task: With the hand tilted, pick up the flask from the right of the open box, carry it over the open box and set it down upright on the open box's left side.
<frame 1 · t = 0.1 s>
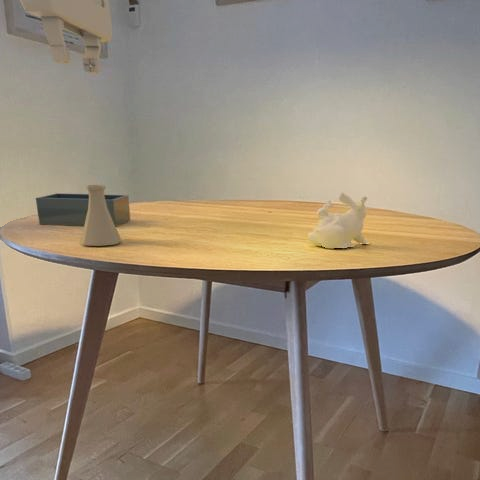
hand: (77, 67, 64), 27 cm above the table, tool pointing down, fingers open, 8 cm apart
rabbit figurine: (341, 248, 83), on the table
open box: (86, 222, 104), on the table
flask: (101, 244, 84), on the table
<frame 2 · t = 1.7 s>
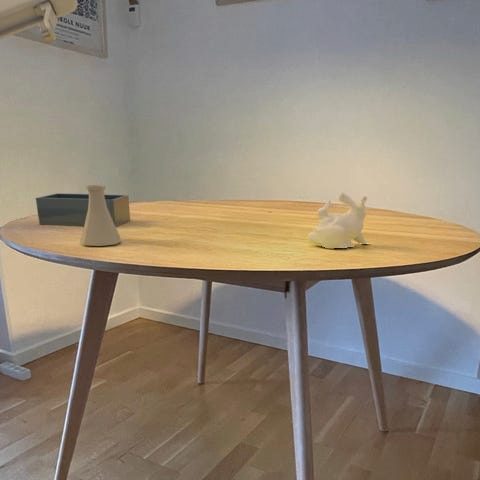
hand: (16, 49, 63), 29 cm above the table, tool tilted 45°, fingers open, 8 cm apart
nothing on the table moved.
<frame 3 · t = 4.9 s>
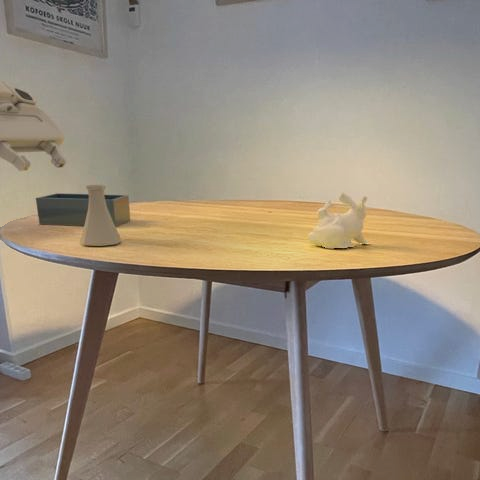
hand: (45, 166, 81), 13 cm above the table, tool tilted 45°, fingers open, 8 cm apart
nothing on the table moved.
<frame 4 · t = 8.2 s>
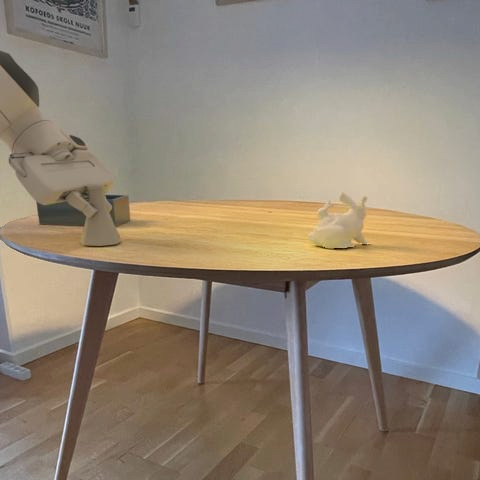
hand: (101, 213, 82), 5 cm above the table, tool tilted 45°, fingers closed on flask, 3 cm apart
flask: (101, 244, 84), on the table, touching gripper
everything else where it was.
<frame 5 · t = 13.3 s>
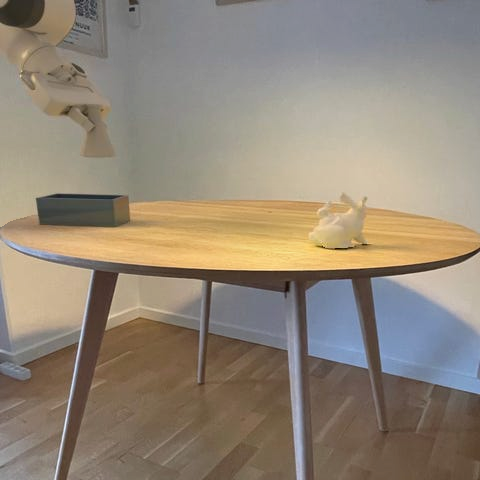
hand: (98, 129, 95), 19 cm above the table, tool tilted 45°, fingers closed on flask, 3 cm apart
flask: (98, 158, 97), point 14 cm above the table, touching gripper
everything else where it was.
when the fingers open (5 cm above the table, at t = 18.9 s): flask stays where it is, on the table.
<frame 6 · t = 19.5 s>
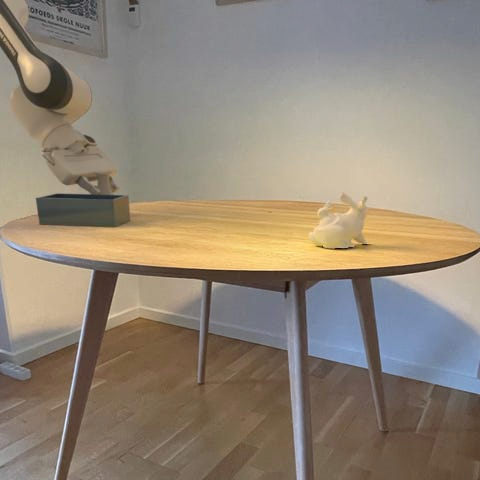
hand: (107, 192, 111), 6 cm above the table, tool tilted 45°, fingers open, 7 cm apart
flask: (106, 216, 113), on the table
everything else where it was.
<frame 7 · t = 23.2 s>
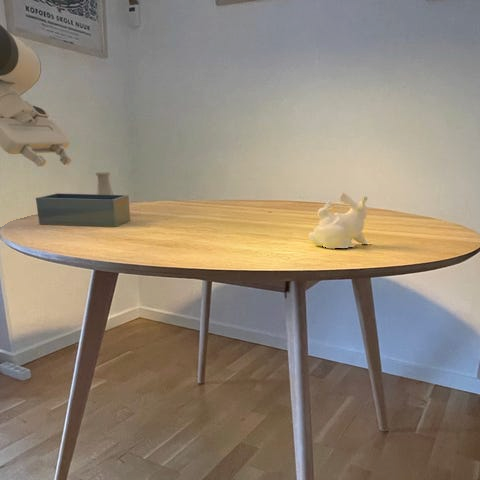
hand: (56, 163, 110), 12 cm above the table, tool tilted 45°, fingers open, 8 cm apart
nothing on the table moved.
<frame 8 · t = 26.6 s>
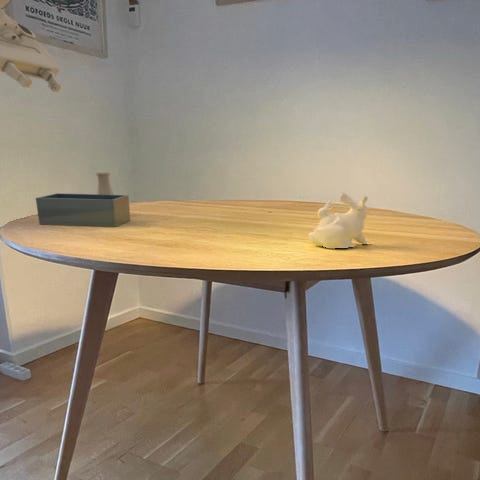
hand: (43, 87, 98), 27 cm above the table, tool tilted 45°, fingers open, 8 cm apart
nothing on the table moved.
at the end: flask inside the target area on the table beside the open box (1.0 cm from its centre), on the table; flask tilted 0°; the gripper is holding nothing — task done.
